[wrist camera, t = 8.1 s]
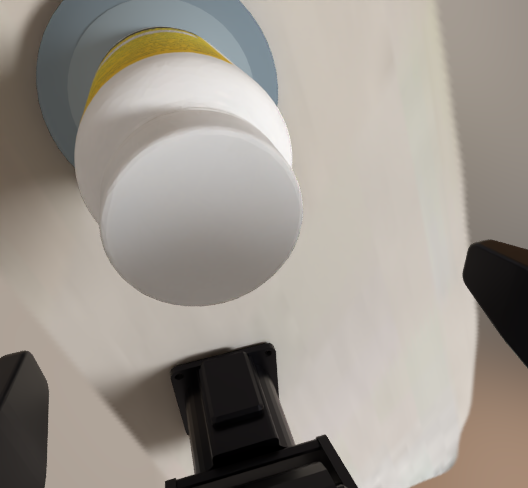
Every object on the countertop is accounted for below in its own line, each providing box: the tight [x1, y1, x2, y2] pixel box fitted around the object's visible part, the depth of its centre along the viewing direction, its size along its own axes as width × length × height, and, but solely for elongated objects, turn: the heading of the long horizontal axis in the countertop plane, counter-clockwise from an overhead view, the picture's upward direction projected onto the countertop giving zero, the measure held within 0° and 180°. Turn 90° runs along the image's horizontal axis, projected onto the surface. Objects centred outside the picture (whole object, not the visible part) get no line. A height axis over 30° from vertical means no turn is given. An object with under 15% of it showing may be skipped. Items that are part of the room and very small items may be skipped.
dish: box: [36, 0, 278, 167], centre depth 16 cm, size 9×9×1 cm
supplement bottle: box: [74, 26, 303, 306], centre depth 12 cm, size 5×5×10 cm
